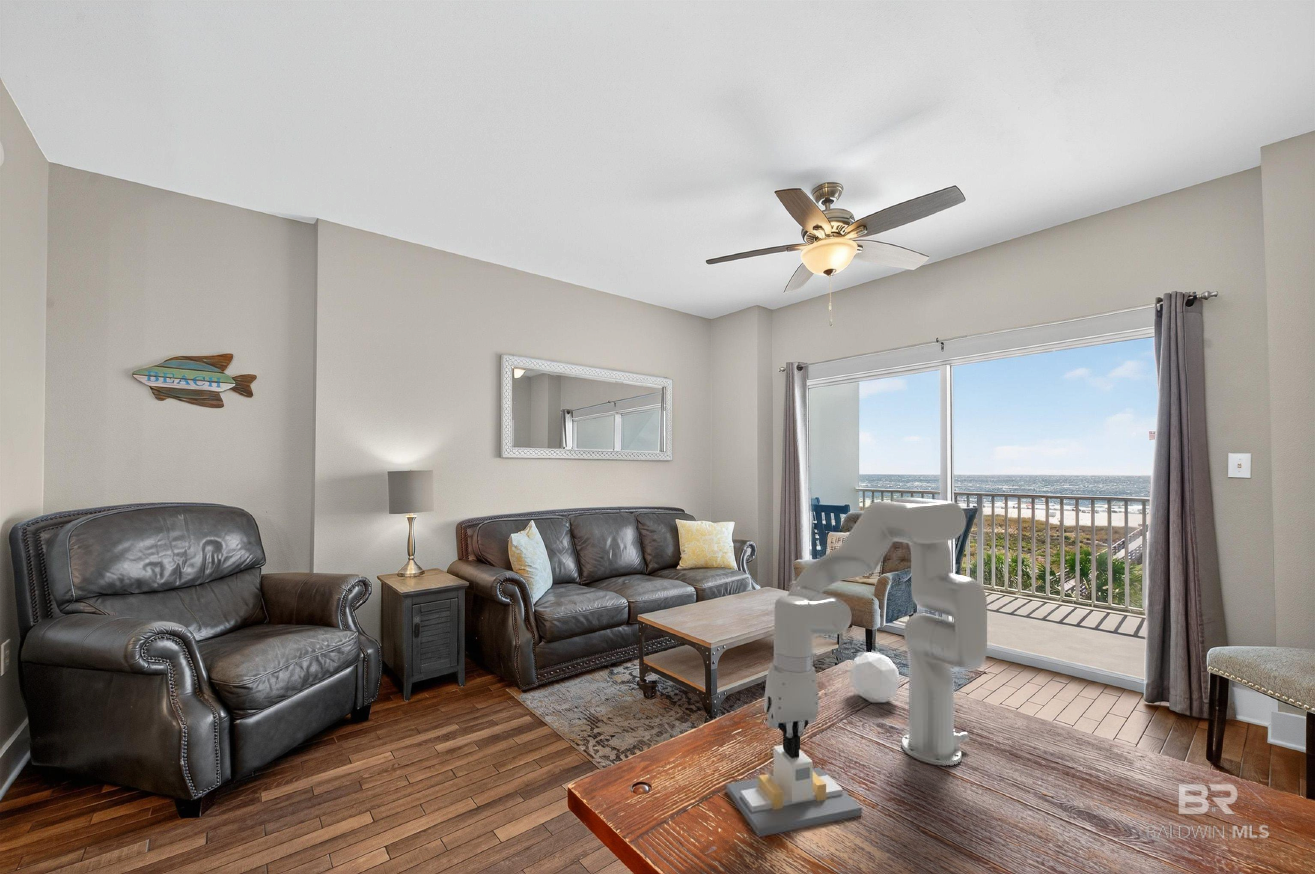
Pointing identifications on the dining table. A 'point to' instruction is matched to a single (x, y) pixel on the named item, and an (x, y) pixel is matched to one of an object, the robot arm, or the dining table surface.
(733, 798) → the rail board
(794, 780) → the block
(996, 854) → the dining table surface
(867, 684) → the geodesic sphere
